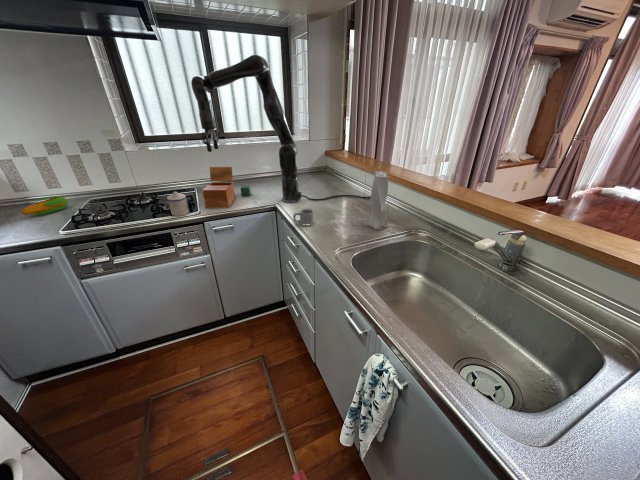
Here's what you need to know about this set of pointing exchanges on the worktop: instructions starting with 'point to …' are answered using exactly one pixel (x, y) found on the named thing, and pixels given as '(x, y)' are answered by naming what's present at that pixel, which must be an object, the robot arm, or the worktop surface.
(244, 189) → the sponge
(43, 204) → the corn
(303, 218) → the mug
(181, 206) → the teacup with lid
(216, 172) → the flap
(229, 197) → the wooden box
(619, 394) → the worktop surface
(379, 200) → the skyscraper
